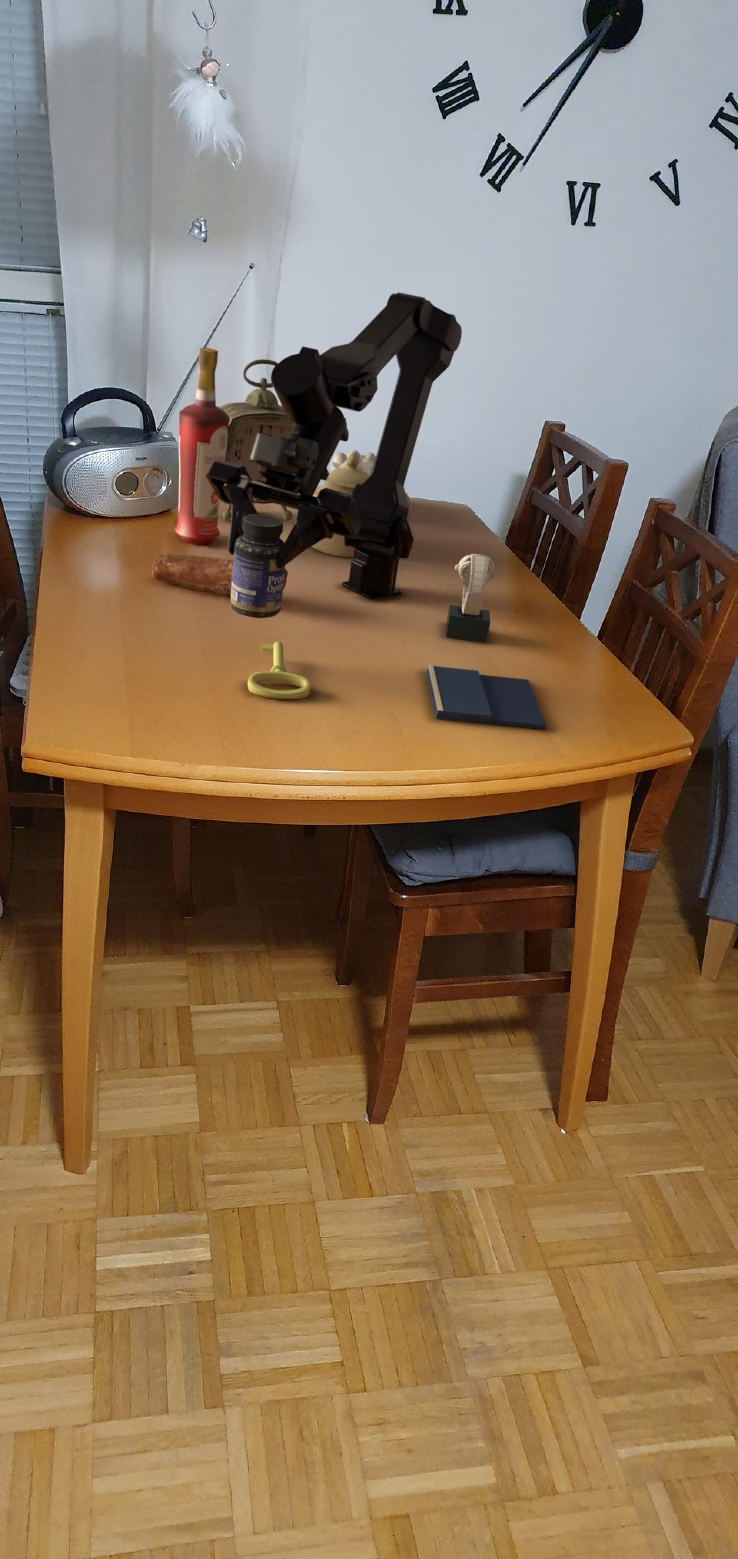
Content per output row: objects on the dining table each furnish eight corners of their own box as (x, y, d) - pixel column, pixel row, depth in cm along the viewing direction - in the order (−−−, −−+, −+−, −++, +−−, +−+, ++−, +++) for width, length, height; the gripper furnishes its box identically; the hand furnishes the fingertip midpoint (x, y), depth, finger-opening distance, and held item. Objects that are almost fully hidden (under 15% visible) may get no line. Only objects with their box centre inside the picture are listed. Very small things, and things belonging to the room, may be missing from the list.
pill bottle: (273, 623, 139) (282, 532, 134) (223, 613, 140) (229, 522, 135) (286, 605, 145) (295, 517, 140) (238, 596, 145) (245, 508, 140)
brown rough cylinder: (276, 613, 161) (279, 573, 158) (144, 584, 164) (146, 545, 161) (290, 598, 166) (294, 560, 163) (163, 571, 169) (165, 533, 166)
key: (280, 655, 148) (281, 639, 147) (315, 699, 138) (317, 682, 137) (224, 658, 145) (225, 642, 144) (256, 703, 136) (258, 686, 135)
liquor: (195, 529, 188) (207, 343, 174) (230, 542, 184) (245, 353, 171) (162, 537, 182) (171, 345, 169) (198, 550, 179) (210, 356, 165)
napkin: (426, 673, 149) (427, 664, 149) (527, 683, 151) (529, 675, 150) (435, 718, 138) (437, 709, 137) (545, 729, 139) (547, 720, 139)
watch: (485, 626, 167) (499, 550, 161) (486, 647, 160) (501, 569, 154) (445, 620, 167) (458, 544, 161) (445, 641, 160) (459, 563, 154)
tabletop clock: (217, 524, 191) (229, 363, 179) (201, 507, 198) (211, 350, 186) (301, 524, 197) (318, 368, 185) (283, 507, 204) (297, 355, 192)
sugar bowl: (396, 541, 196) (410, 449, 189) (404, 563, 186) (419, 468, 179) (306, 532, 194) (316, 439, 187) (309, 554, 184) (320, 457, 177)
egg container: (324, 510, 205) (330, 460, 201) (328, 490, 217) (333, 442, 212) (384, 518, 206) (391, 468, 202) (385, 498, 217) (391, 450, 213)
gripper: (219, 389, 137) (160, 502, 134) (363, 424, 131) (305, 544, 128) (249, 446, 148) (195, 553, 144) (384, 481, 141) (331, 593, 138)
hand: (253, 559), depth 138 cm, fingers closed on pill bottle, 6 cm apart
